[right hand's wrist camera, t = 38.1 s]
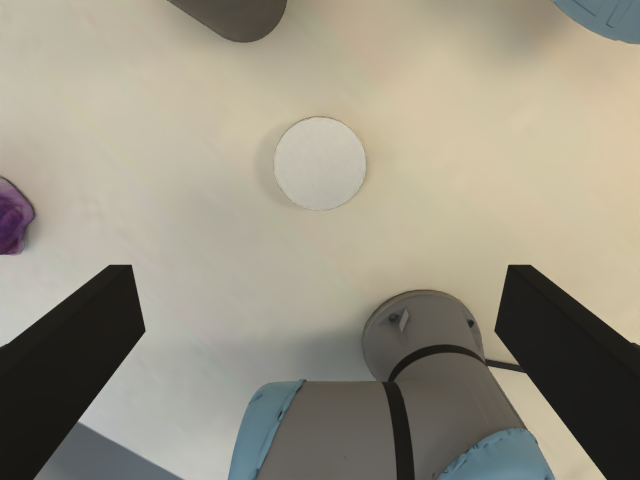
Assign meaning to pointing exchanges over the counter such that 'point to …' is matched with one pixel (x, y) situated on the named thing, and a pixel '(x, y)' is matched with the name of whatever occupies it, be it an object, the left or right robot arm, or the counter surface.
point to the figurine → (13, 219)
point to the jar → (236, 16)
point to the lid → (319, 163)
